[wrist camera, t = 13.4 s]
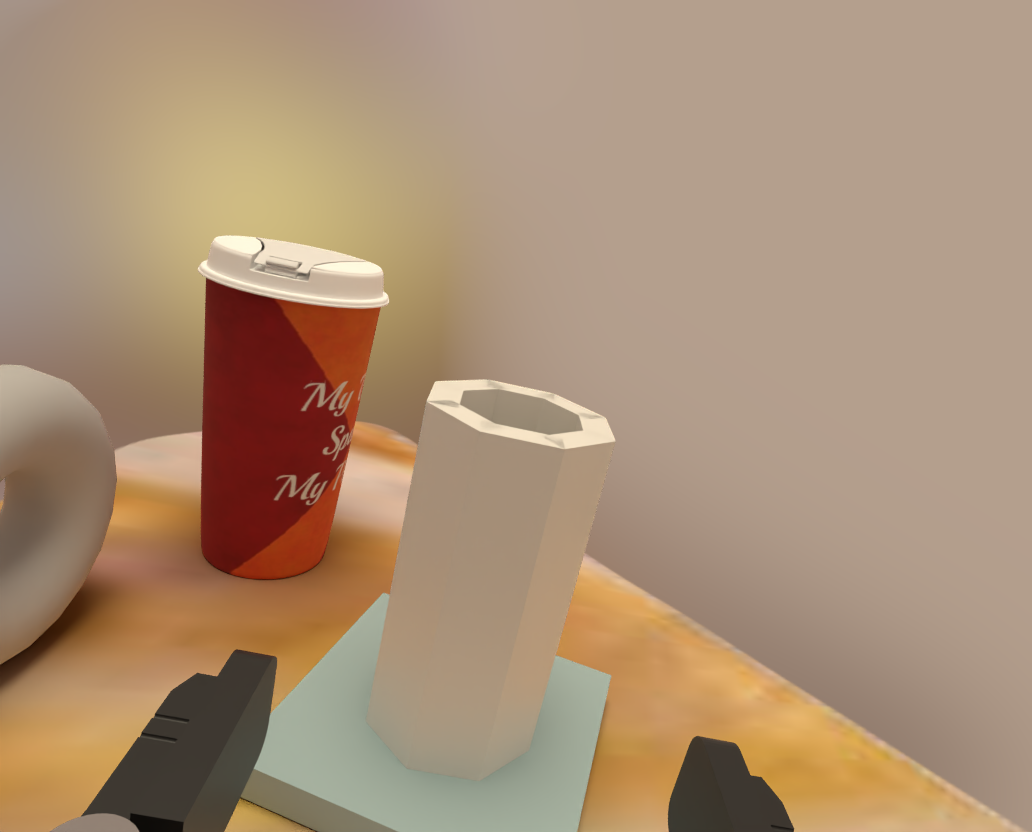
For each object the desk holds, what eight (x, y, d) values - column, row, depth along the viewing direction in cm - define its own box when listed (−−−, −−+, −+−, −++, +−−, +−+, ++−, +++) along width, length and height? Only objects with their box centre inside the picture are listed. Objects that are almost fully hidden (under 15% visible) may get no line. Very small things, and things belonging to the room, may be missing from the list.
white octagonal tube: (354, 759, 20) (418, 418, 17) (387, 647, 26) (441, 369, 22) (529, 790, 21) (624, 461, 18) (527, 673, 26) (599, 403, 23)
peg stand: (225, 790, 20) (255, 542, 18) (379, 616, 29) (411, 439, 27) (550, 935, 18) (633, 679, 16) (603, 699, 27) (660, 517, 25)
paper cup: (330, 605, 29) (382, 284, 25) (144, 577, 28) (166, 238, 24) (358, 522, 37) (402, 263, 33) (211, 498, 36) (237, 228, 32)
